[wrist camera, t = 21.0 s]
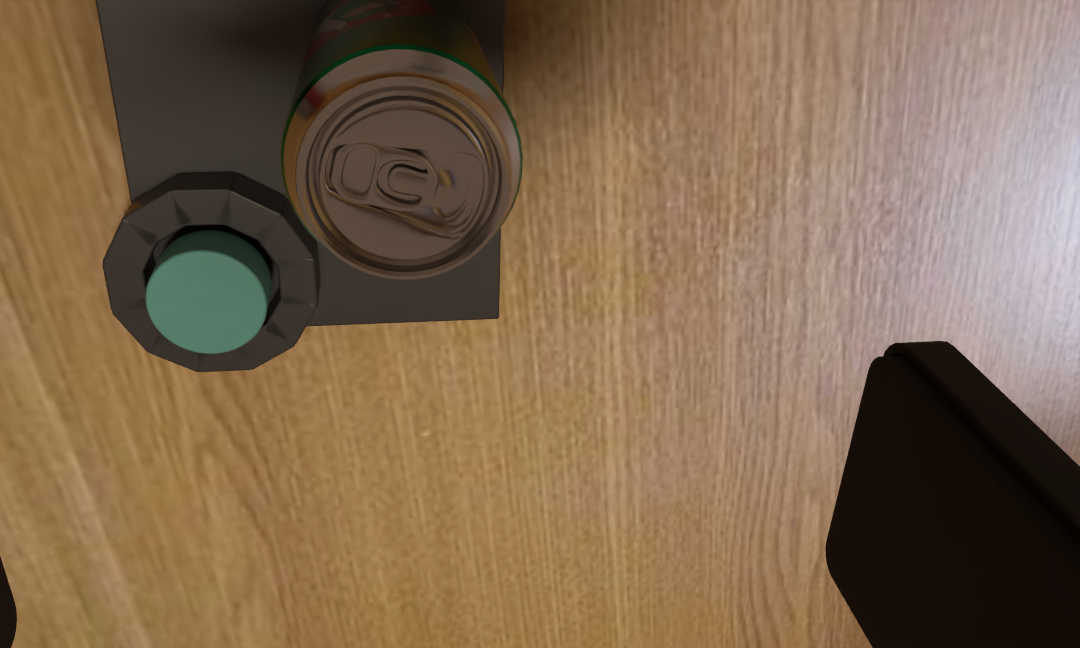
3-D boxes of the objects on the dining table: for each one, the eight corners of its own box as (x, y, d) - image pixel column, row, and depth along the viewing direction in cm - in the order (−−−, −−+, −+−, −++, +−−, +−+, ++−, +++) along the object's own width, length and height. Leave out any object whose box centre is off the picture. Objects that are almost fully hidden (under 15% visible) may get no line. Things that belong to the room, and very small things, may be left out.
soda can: (453, 148, 31) (494, 316, 21) (297, 112, 30) (256, 271, 19) (493, -7, 29) (560, 92, 19) (327, -54, 28) (299, 25, 17)
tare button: (147, 230, 30) (135, 252, 28) (266, 227, 30) (260, 249, 29) (164, 331, 31) (154, 357, 30) (276, 326, 32) (272, 352, 30)
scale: (60, -118, 27) (27, -111, 24) (501, -104, 29) (514, -97, 26) (142, 333, 34) (123, 376, 31) (494, 319, 36) (504, 359, 33)
